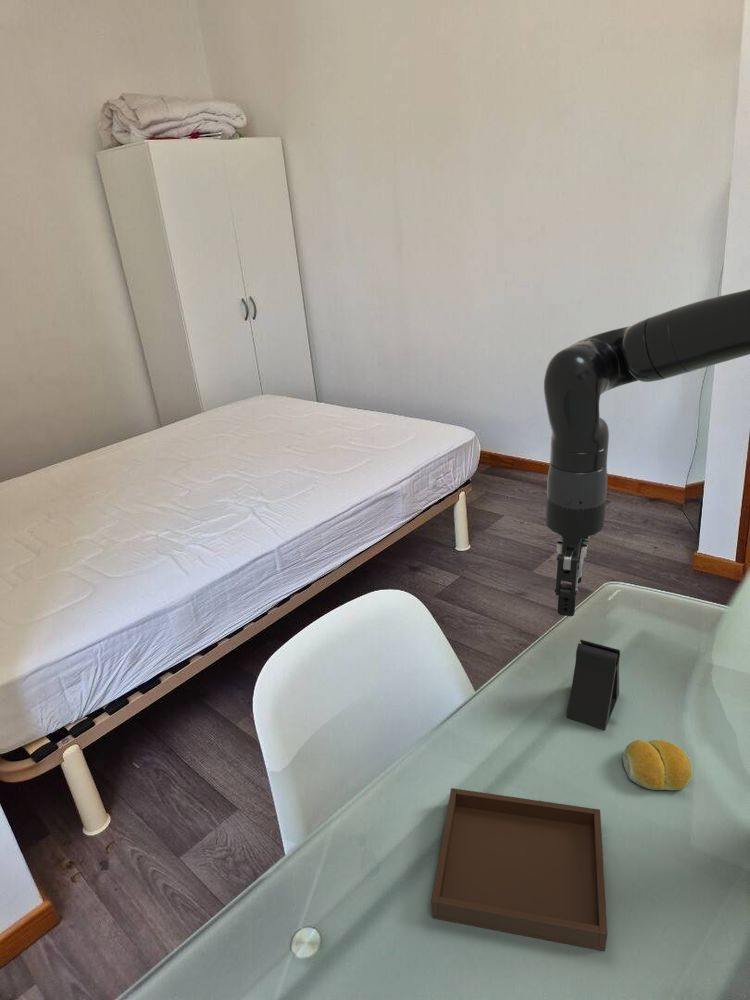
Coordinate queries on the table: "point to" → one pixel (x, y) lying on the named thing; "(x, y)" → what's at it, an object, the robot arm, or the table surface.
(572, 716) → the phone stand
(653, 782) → the bread roll
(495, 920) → the tray
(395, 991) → the table surface
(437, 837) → the table surface
